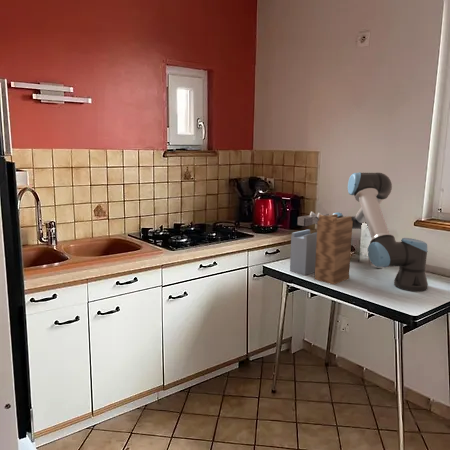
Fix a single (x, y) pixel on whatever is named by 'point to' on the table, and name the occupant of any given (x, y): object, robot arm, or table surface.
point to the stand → (333, 248)
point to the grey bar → (309, 219)
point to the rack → (303, 252)
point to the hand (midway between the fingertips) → (314, 214)
